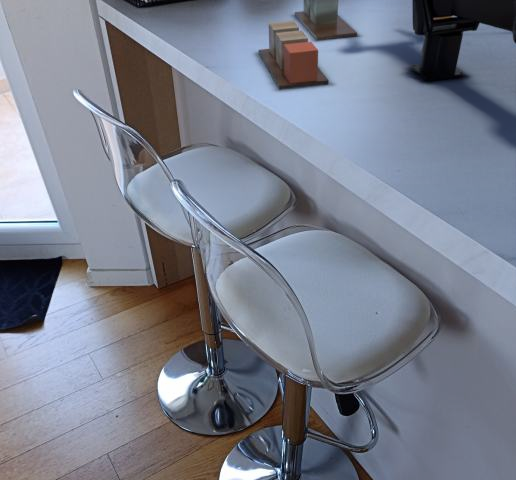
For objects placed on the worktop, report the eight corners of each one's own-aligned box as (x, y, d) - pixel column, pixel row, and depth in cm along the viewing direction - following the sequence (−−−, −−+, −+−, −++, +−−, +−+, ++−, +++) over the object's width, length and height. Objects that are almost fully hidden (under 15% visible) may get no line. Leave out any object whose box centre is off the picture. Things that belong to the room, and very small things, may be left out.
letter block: (317, 80, 85) (318, 49, 82) (289, 83, 85) (289, 52, 81) (310, 71, 88) (311, 41, 85) (283, 74, 88) (283, 44, 85)
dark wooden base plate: (357, 36, 103) (359, 5, 99) (316, 40, 102) (317, 9, 98) (330, 11, 116) (331, -17, 112) (294, 15, 115) (294, -13, 112)
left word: (328, 84, 85) (329, 49, 82) (279, 89, 85) (278, 54, 81) (301, 48, 99) (301, 17, 95) (258, 53, 98) (257, 21, 94)
